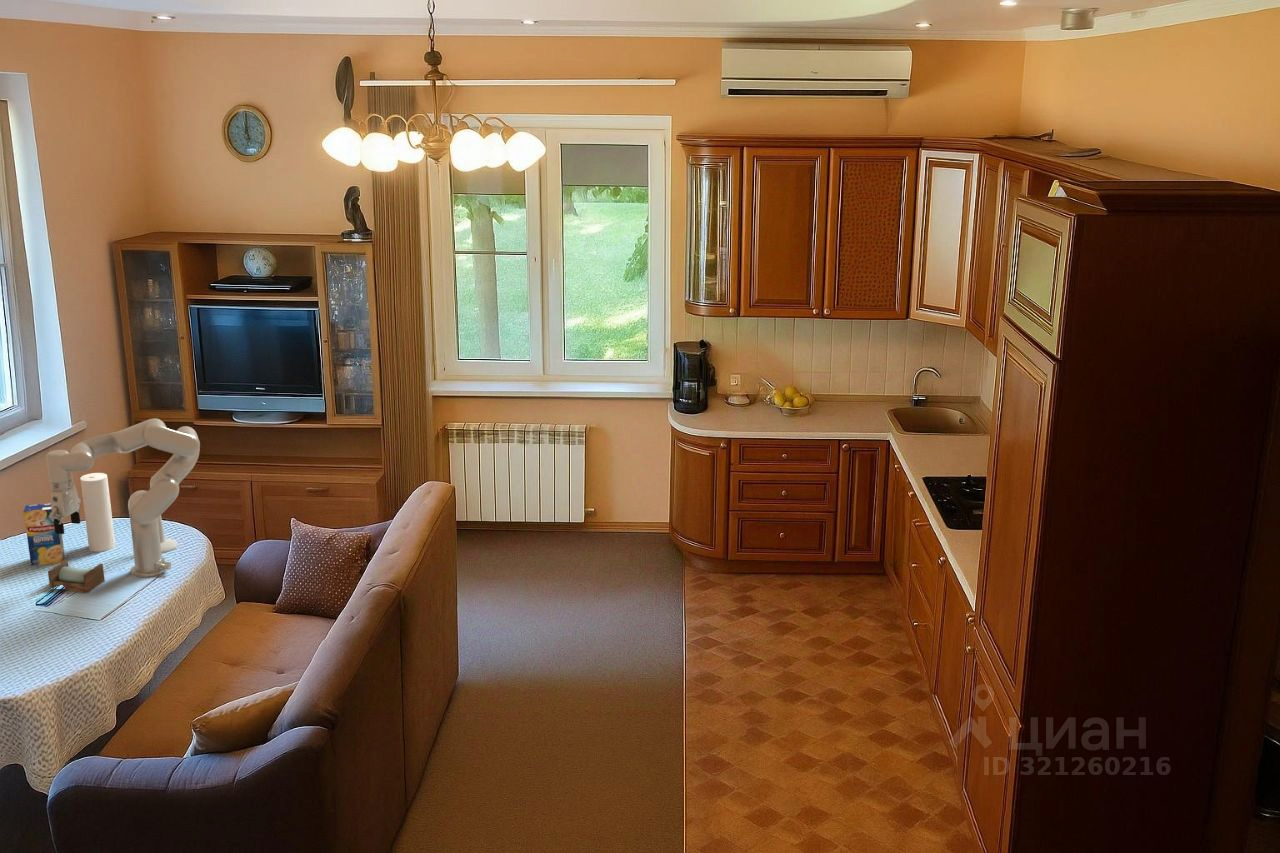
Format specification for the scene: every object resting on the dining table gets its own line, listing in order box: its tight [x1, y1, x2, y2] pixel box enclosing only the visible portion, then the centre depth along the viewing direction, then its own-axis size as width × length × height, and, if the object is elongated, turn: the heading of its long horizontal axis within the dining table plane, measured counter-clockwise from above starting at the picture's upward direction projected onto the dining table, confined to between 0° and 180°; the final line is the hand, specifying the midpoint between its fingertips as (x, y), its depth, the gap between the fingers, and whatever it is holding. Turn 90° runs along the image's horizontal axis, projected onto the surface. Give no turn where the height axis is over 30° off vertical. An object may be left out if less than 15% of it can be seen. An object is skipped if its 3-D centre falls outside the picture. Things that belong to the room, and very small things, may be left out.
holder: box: [47, 559, 106, 594], centre depth 408 cm, size 15×10×7 cm, turn 81°
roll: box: [59, 566, 92, 584], centre depth 408 cm, size 10×6×6 cm, turn 82°
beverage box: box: [23, 502, 66, 566], centre depth 425 cm, size 7×11×22 cm, turn 111°
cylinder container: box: [79, 472, 116, 553], centre depth 437 cm, size 9×9×30 cm
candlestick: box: [150, 476, 179, 554], centre depth 439 cm, size 13×13×30 cm
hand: (68, 528), depth 405 cm, fingers open, 9 cm apart
